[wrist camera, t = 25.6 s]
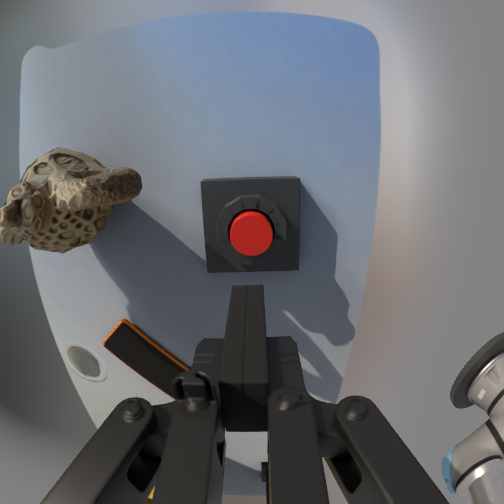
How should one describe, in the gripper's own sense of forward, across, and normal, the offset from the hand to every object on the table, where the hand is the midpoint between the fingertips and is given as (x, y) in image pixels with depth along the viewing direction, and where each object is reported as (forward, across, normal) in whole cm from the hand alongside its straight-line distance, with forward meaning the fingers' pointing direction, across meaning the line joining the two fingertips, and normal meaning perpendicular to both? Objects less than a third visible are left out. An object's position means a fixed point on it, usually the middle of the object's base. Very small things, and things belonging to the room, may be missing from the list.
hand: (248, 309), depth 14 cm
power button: (+15, 0, 0) cm, 15 cm away
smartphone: (+18, -15, -21) cm, 32 cm away
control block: (+18, 0, 0) cm, 18 cm away
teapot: (+19, -20, +5) cm, 28 cm away
